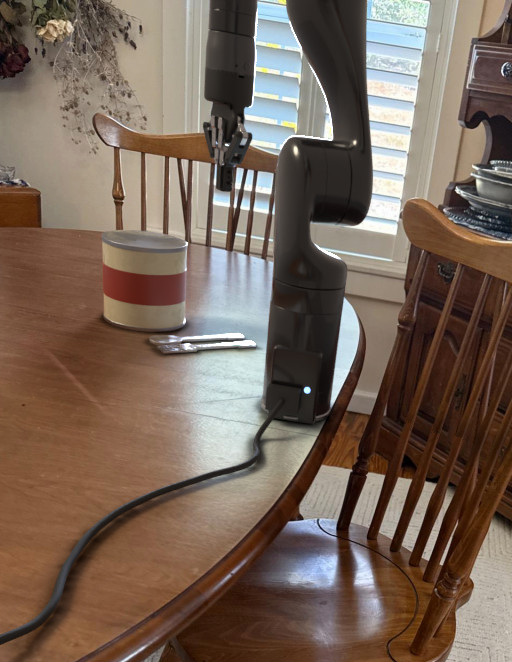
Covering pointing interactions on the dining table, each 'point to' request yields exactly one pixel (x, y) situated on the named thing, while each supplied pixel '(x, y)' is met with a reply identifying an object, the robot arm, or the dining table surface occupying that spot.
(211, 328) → the dining table surface
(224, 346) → the fork
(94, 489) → the dining table surface
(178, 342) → the spoon
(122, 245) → the coffee tin
